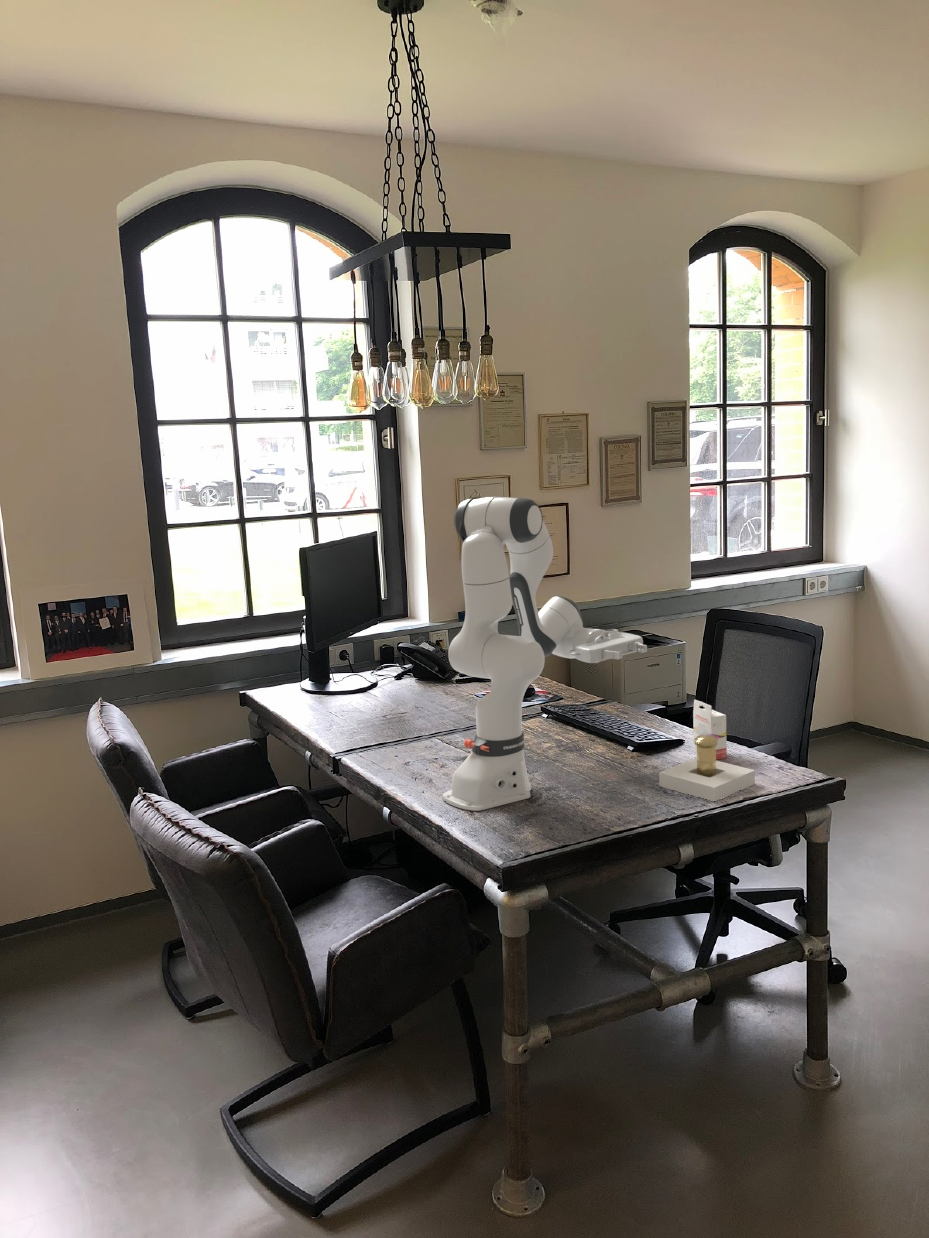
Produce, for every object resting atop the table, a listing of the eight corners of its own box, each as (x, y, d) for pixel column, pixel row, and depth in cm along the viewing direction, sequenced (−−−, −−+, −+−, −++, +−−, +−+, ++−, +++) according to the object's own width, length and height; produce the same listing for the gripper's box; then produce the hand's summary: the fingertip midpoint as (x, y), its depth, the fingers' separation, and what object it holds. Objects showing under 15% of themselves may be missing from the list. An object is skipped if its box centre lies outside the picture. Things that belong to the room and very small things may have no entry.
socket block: (714, 802, 226) (714, 787, 225) (659, 786, 238) (659, 772, 237) (754, 784, 236) (754, 770, 235) (700, 769, 248) (699, 756, 247)
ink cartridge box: (727, 758, 256) (727, 703, 253) (711, 761, 254) (711, 706, 251) (708, 749, 264) (707, 696, 261) (692, 752, 262) (691, 699, 259)
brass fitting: (709, 790, 233) (708, 742, 231) (690, 785, 237) (689, 737, 235) (722, 784, 237) (722, 736, 235) (704, 779, 241) (703, 732, 239)
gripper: (564, 640, 252) (605, 647, 242) (617, 627, 265) (658, 633, 254) (565, 664, 253) (605, 672, 243) (618, 650, 266) (659, 657, 255)
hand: (633, 652), depth 249 cm, fingers open, 8 cm apart
